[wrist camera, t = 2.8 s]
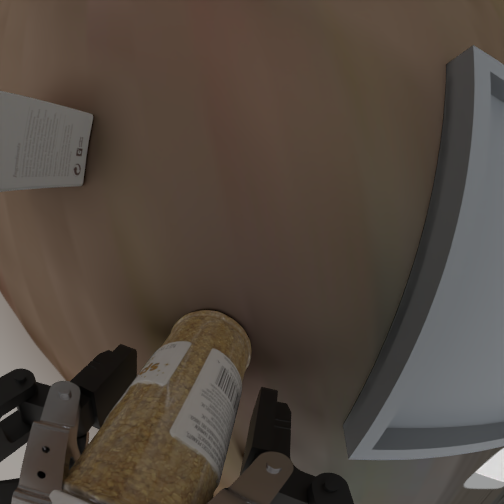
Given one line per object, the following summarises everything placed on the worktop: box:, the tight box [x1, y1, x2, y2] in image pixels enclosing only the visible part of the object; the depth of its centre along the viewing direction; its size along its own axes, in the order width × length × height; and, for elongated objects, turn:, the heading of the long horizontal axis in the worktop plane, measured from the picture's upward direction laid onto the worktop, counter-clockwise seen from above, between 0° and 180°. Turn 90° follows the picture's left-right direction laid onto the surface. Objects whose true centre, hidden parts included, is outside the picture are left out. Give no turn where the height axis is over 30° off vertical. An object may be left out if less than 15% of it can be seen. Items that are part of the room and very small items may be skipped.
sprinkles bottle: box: [49, 310, 252, 504], centre depth 9 cm, size 5×5×13 cm
